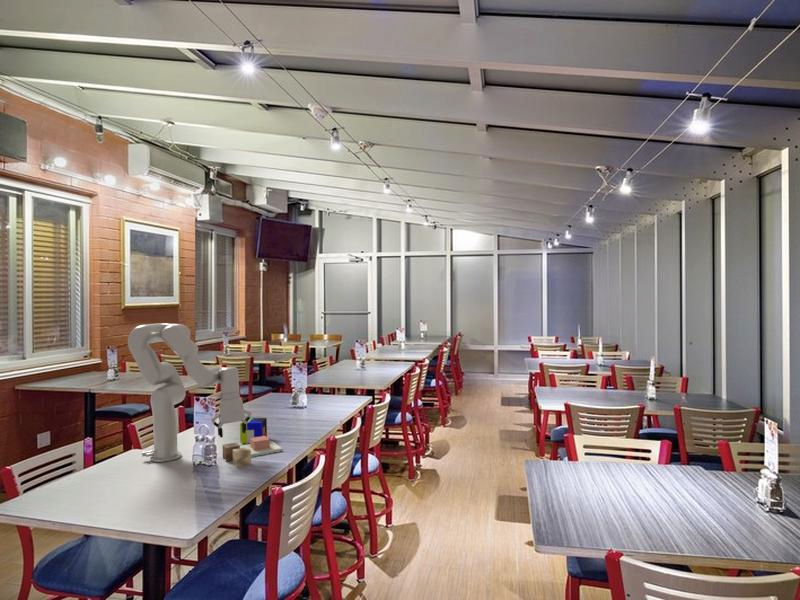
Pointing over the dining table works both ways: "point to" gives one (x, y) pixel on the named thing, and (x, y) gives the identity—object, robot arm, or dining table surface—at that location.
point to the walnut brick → (229, 450)
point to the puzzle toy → (253, 429)
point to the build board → (264, 451)
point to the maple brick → (242, 457)
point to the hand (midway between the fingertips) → (232, 434)
